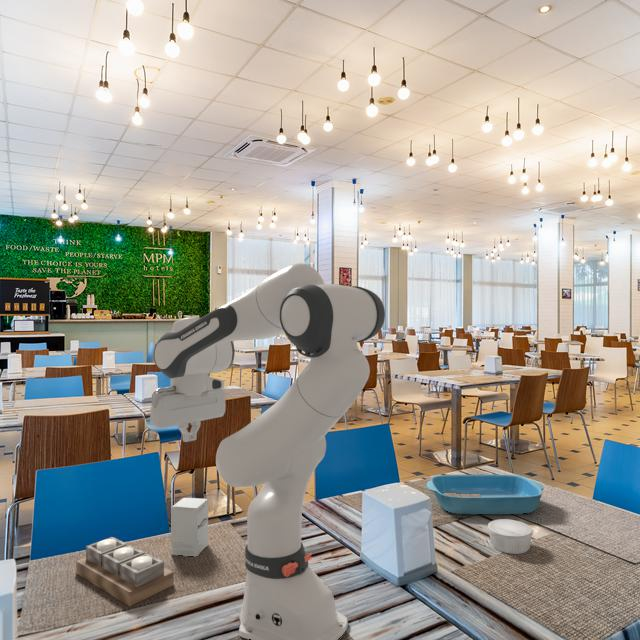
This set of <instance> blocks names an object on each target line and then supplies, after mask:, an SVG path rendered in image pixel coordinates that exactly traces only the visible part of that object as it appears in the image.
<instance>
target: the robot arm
mask: <svg viewBox="0 0 640 640" xmlns="http://www.w3.org/2000/svg"><path fill="white" fill-rule="evenodd" d="M385 309H386V308H385V305H384V302H383V301H382V299H381V298H380V297H379V295H377V293H375V292H374V291H371V290H370V289H367V288H365V287H362V286H357V285H355V286H354V285H342V284H337V283H334V284H333V283H329V284H328V283H327V284H326V283H325V281H324V280H323V278H322V276H321V274H320V273H319V272H318V271H317V270H316V269H315V267H313V266H311V265H309V264H306V263H301V262H300V263H294V264H293V263H292V264H291V265H289V266H286V267H284V268H282V269H280V270H278V271H275V272H274V273H273V274H271V275H270V276H268V277H267V278H265V279H264V280H263V281H261V282H259V284H257V285H256V286H254V287H253V288H252V289H249V290H248V291H247V292H245V293H244V294H242V295H240V296H239V297H237V298H234V300H231V301H229V302H228V303H226V304H224V305H222V306H220V307H218V308H216V309H215V310H212V311H210V312H209V313H207V314H205V315H203V316H201V317H198V316H197V317H196V316H195V317H183V318H179V319H176V321H174V322H173V324H172V328H171V331H168V332H166V333H164V334H163V335H162V336H161V337H160V339H159V338H158V339H159V340H158V341H157V342H156V344H155V345H154V349H153V361H154V365H156V366H155V367H156V368H157V369H158V370H159V371H160V373H162V374H164V375H165V376H166V377H167V378H168V379H170V386H165V387H158V388H157V389H156V390H155V391H154V392H153V393H152V394H151V406H150V414H149V423H150V425H151V427H152V428H155V429H161V430H162V429H166V428H171V427H175V426H178V427H177V428H178V430H179V432H180V434H181V435H182V442H183V443H188V442H193V441H196V440H197V439H198V437H197V435H198V431H199V430H200V428H201V423H202V422H203V421H206V420H207V421H208V420H212V419H217V418H222V417H224V415H225V413H226V407H227V405H226V394H225V391H224V390H223V389H224V388H225V380H222V379H219V378H215V377H212V376H209V375H208V374H216V373H221V372H224V371H227V370H228V369H229V368H230V367H231V366H232V364H233V362H234V360H235V353H236V352H235V345H234V342H235V341H249V340H250V341H251V340H254V341H255V340H263V339H264V340H265V339H270V338H274V337H277V336H279V335H282V334H285V336H286V337H287V339H288V341H290V343H292V344H293V346H295V348H296V350H297V353H298V354H300V355H302V356H304V357H306V358H310V359H309V362H308V364H307V365H306V367H305V368H304V369H303V370H302V372H300V374H299V375H298V377H297V378H296V379H295V380H294V381H293V383H292V384H291V385H290V386H289V387H288V389H287V390H286V391H285V393H283V395H282V396H281V397H280V398H279V399H278V400H277V401H276V402H275V403H274V404H272V405H271V406H270V407H269V408H268V409H266V410H265V411H263V412H262V413H261V414H260V415H258V416H257V417H256V418H255V419H253V420H251V422H249V423H248V424H247V425H246V426H244V427H243V428H241V429H240V430H238V431H236V432H234V433H233V434H231V435H229V436H227V437H225V438H224V439H222V440H221V441H220V443H219V444H218V445H219V446H218V448H217V451H216V453H215V465H216V467H215V468H216V470H217V472H218V475H219V477H220V478H221V479H222V481H223V482H224V483H225V484H227V485H228V486H230V487H232V488H249V487H259V486H260V485H262V487H261V489H260V491H259V493H258V494H257V495H256V496H255V497H254V498H253V500H252V501H251V502H250V504H249V506H248V509H247V514H246V521H247V522H246V525H247V526H246V531H247V535H246V536H247V539H246V542H247V544H246V546H245V551H244V552H245V554H244V566H245V568H246V575H245V576H246V577H245V582H244V583H245V584H244V592H243V599H242V600H243V601H242V605H241V608H240V609H241V610H240V612H239V621H240V625H239V628H238V636H240V637H241V638H244V639H247V640H249V639H251V640H337V639H338V638H339V637H340V636H342V635H343V633H344V632H345V631H347V630H348V626H349V623H348V622H349V621H348V618H347V617H346V616H345V615H344V614H342V613H340V612H339V611H337V609H336V601H335V597H334V594H333V593H332V591H331V589H330V588H328V586H327V584H326V582H325V580H323V579H321V578H320V577H319V576H318V575H317V574H316V572H315V571H314V570H313V568H312V567H310V565H309V561H310V560H311V559H313V556H312V555H313V553H312V552H310V553H308V554H307V553H306V550H305V546H304V544H303V542H302V519H303V518H302V517H303V516H302V514H303V505H304V501H305V497H306V493H307V489H308V486H309V484H310V481H311V478H312V476H313V474H314V472H315V470H316V468H317V467H318V465H319V464H320V463H321V462H322V460H323V459H324V457H325V455H326V451H327V440H326V435H327V433H329V432H330V430H331V429H333V427H334V426H335V425H336V424H337V423H338V422H339V420H341V419H342V417H343V416H344V415H345V414H346V413H347V411H348V410H350V408H351V406H352V405H353V404H354V403H355V401H356V400H357V398H358V397H359V396H360V394H361V392H362V390H364V387H366V384H367V382H368V380H369V377H370V372H371V370H370V369H371V368H370V364H369V361H368V359H367V357H366V356H365V354H364V353H363V352H362V351H361V350H360V349H359V346H358V343H363V342H366V341H368V340H370V339H371V338H373V337H375V336H376V335H377V334H378V333H379V332H380V331H381V329H382V328H383V325H384V324H385V318H386V311H385ZM201 421H202V422H201ZM189 424H190V425H191V428H190V431H188V428H189ZM345 633H346V632H345ZM345 633H344V634H345ZM343 636H344V635H343ZM343 636H342V637H343Z"/></svg>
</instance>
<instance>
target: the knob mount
mask: <svg viewBox="0 0 640 640" xmlns="http://www.w3.org/2000/svg"><path fill="white" fill-rule="evenodd" d="M106 539H114V540H116V547H114V548H111V549H108V550H106V551H103V552H101V551H99V550H98V549H97V543H98V542H100V541H101V540H100V541H96V542H94V543H91V544H89V545H86V546H85V557H83V558H81V559H78V560H76V561H75V562H76V566H75V572H76V574H75V575H77V576H79V577H81V578H82V579H84V580H86V581H87V582H89V583H91V584H93V585H94V586H95V587H97V588H99V589H100V590H102V591H104V592H106V593H107V594H108V595H110V596H112V597H113V598H115V599H117V600H118V601H120V602H122V603H123V604H125V605H127V606H128V607H132V606H134V605H136V604H138V603H140V602H142V601H144V600H146V599H148V598H150V597H152V596H155V595H156V594H158V593H161V592H162V591H165V590H166V589H168V588H170V587H173V586H174V585H175V584H174V583H175V582H174V571H173V570H170V569H168V568H166V567H165V562H164V561H163V560H161V559H160V558H157V557H155V556H154V555H151V554H149V553H146V552H145V551H144V550H140V549H138V548H137V547H134V546H133V545H131V544H128V543H126V542H124V541H122V540H119V538H116V537H113V536H110V537H108V538H105V539H104V540H106ZM124 547H130V548H133V549H134V555H133V556H131V557H128V558H126V559H123V560H121V561H118V560H116V559H115V558H114V555H113V553H114V551H115V550H117V549H120V548H124ZM141 556H149V557H151V558H152V565H151V566H148V567H146V568H144V569H141V570H139V571H137V570H135V569H134V568H132V560H133V559H135V558H137V557H141Z"/></svg>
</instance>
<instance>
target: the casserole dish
mask: <svg viewBox="0 0 640 640" xmlns="http://www.w3.org/2000/svg"><path fill="white" fill-rule="evenodd" d="M425 485H426V488H427V489H428V490H429V491H430V492H433V495H434V496H435V499H436V500H437V502H438V503H439V505H440V507H442V509H443V510H444V511H445V512H447V511H448V513H450V512H452V513H451V514H453V513H457V514H456V515H462V514H518V515H524V514H523V513H528V514H531V513H532V512H534V511H536V510H537V508H538V507H539V505H540V501H541V498H542V495H543V490H544V486H543V485H542V484H541V483H540V482H538V481H535V480H532V479H529V478H526V477H524V476H521V475H516V474H440V475H434V476H432V477H431V478H430V480H429V481H428V482H427V483H426V484H425ZM444 493H456V494H470V495H471V494H480V496H481V497H454V496H447V495H444ZM530 512H531V513H530Z"/></svg>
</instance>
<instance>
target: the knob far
mask: <svg viewBox="0 0 640 640" xmlns="http://www.w3.org/2000/svg"><path fill="white" fill-rule="evenodd" d="M105 539H106V540H105ZM105 539H103V540H100V542H99V541H97V542H98V543H97V549H98V550H99V551H101V552H103V551H106V550H108V549H111V548H114V547H116V540H114V539H107V538H105Z"/></svg>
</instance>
